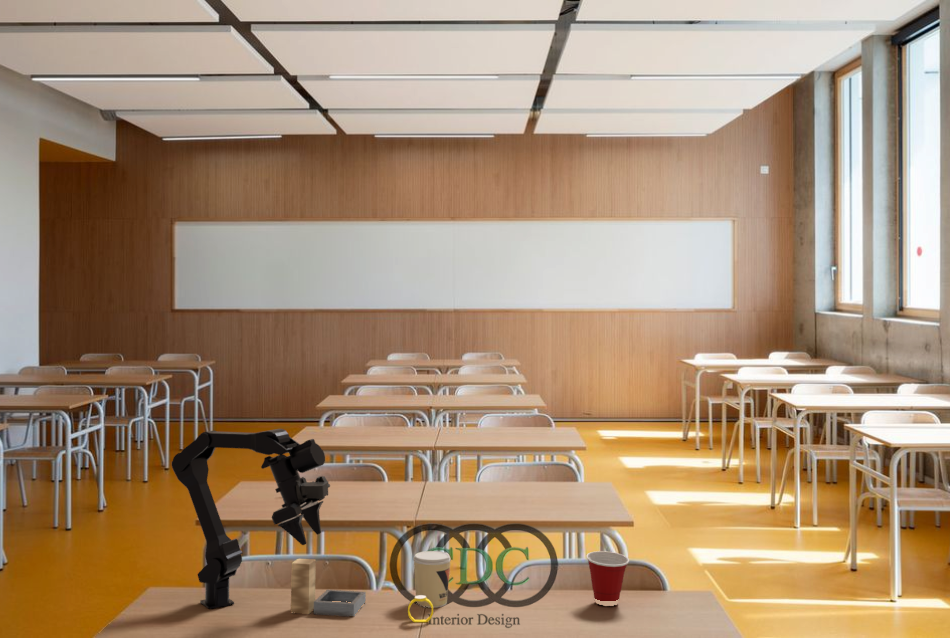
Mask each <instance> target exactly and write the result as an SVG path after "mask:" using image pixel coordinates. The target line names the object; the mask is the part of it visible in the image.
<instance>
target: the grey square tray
mask: <svg viewBox="0 0 950 638" xmlns="http://www.w3.org/2000/svg"><path fill="white" fill-rule="evenodd" d="M366 593H367V592H366V591H358V590H356V591H354V590H343V589H342V590H341V589H340V590H339V589H337V590H336V589H326V590H325V591H324V592H323V593H322V594H321V595H319V596H318V597H317V598H315V601H314V610H313V615H317V616H318V615H319V616H323V615H324V616H334V615H336V616H337V615H338V616H337V617H349V616H354V617H355V616H356V615H357V614H358V613H359V612H358V610H359V609H360V608H361V606H362V605H363V604H364V603H365V601H366V596H367V595H366ZM332 601H341V602H332ZM346 601H347V602H346ZM348 602H351V603H348ZM365 604H366V603H365ZM361 609H362V608H361ZM361 609H360V610H361ZM357 612H358V613H357ZM356 613H357V614H356ZM355 614H356V615H355Z"/></svg>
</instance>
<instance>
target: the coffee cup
mask: <svg viewBox="0 0 950 638" xmlns="http://www.w3.org/2000/svg"><path fill="white" fill-rule="evenodd" d="M413 565H414V570H413V571H414V585H415V586H414V587H415V596H418V595H424V596H426V598H427V599H428V600H430V601H431V603H432V605H433V609H435V608H442V607H444V606H447V603H448V592H449V581H450V580H449V579H450V566H451V556H450V554H449V553H447V552H444V551H439V550H425V551H419V552H417V553H416V554H414V556H413ZM416 602H417V603H418V604H420V605H422V606H426V607H428V608H427V609H431V606H430V604H429V603H428V602H426V601H415V603H416ZM417 603H416V604H417ZM426 607H425V608H426Z"/></svg>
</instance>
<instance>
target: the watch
mask: <svg viewBox="0 0 950 638" xmlns="http://www.w3.org/2000/svg"><path fill="white" fill-rule="evenodd" d="M416 601H426V602H428V603H429V604H430V606H431V608H430V609H431V612H430V615H429V616H428V617H427V618H426V619H415V618H414V617H413V616H412V615H411V610H410V609H411V607H412V605H413V604H414V603H416ZM407 614H408V618H409V619H410V620H411V621H412V622H413V623H415V624H417V623H428V622H429V621H431V620H432V618H433V615H434V608H433V605H432V603H431V601H430V600H428V599H427V598H426V596H424V595H418V596H416V595H415V596H414V598H413V599H412V600H411V601H410V602H409V604H408V607H407Z"/></svg>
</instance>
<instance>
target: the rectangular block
mask: <svg viewBox="0 0 950 638" xmlns="http://www.w3.org/2000/svg"><path fill="white" fill-rule="evenodd" d="M316 560H317V559H315V558H314V559H311V558H297V559H295V560H294V561H293V562H291V573H290V574H291V575H290V577H291V578H290V613H291V612H295V613H302V614H301V615H310V614H311V613H312V612H313V611H314V610H313V609H314V601H315V600H316V565H317V564H316ZM312 610H313V611H312ZM311 611H312V612H311ZM295 613H294V614H295Z"/></svg>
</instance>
